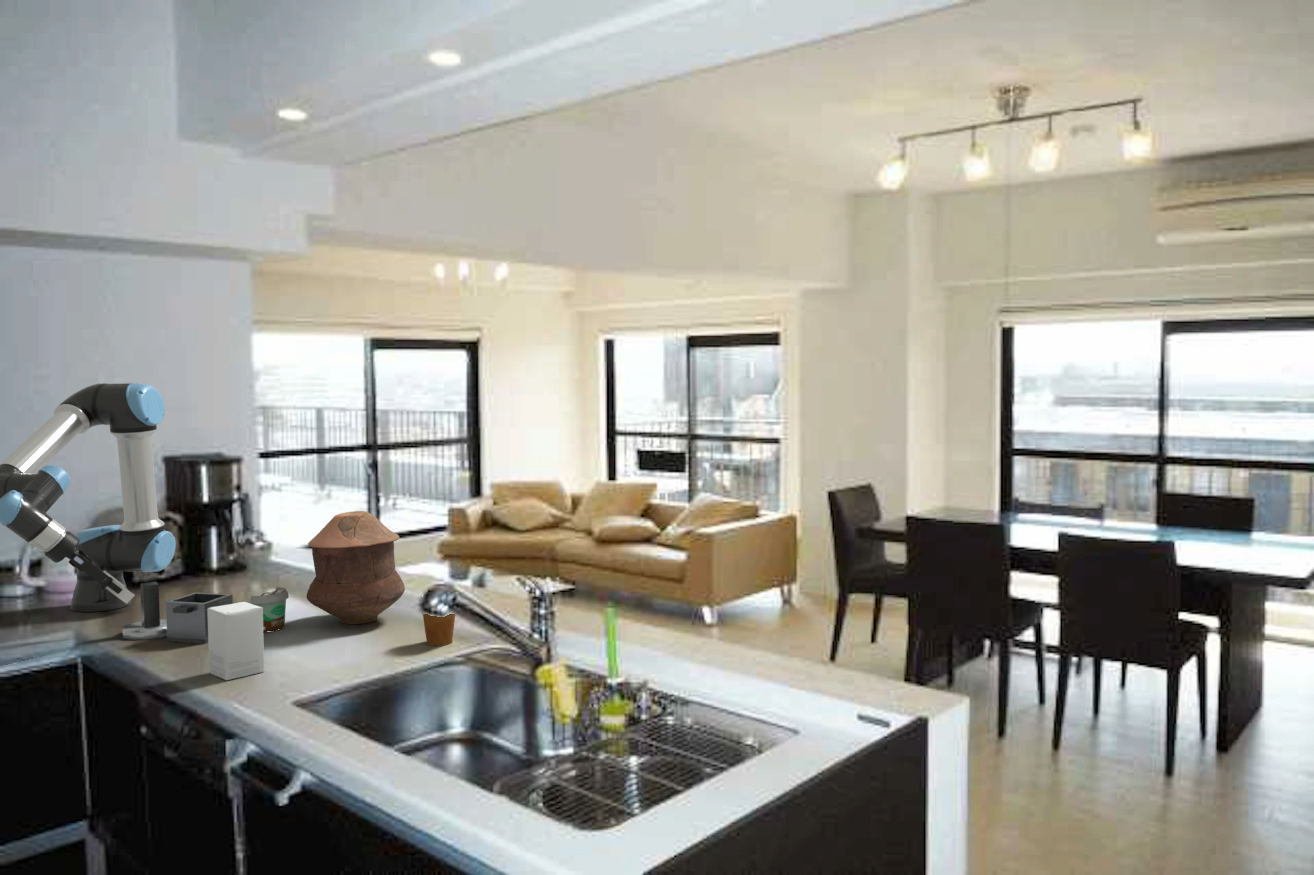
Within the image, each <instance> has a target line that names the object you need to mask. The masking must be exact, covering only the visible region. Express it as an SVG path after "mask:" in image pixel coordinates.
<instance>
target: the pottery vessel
mask: <svg viewBox="0 0 1314 875" xmlns="http://www.w3.org/2000/svg"><path fill="white" fill-rule="evenodd" d="M398 540H400V535H398V534H397V533H395V532H393V530H390V528H388V527H387V526H386V525H385V524H384V523H383V522H382V521H380V520H379V518H377V517H376V516H374V514H373V513H370V512H368V511H367V510H366V511H363V510H355V511H347V512H340V513H338V514H335V515H334V516H333V517H332V518H331V519H330V521H329V522H327V523H326V525H325V526H324V527H323V528H322V529H321V530H319V532H318V533H317V534H316V535H315V536H314V537H313V538H312V539H311V540H310V541H308V543H307V545H308V546H309V547H311V548H312V551H311V555H312V560H313V566H314V573H315V577H314V578H313V580H312V582H311V583H310V584H309V587H308V590H307V592H306V599H307V601H308V602H309V604H311V605H313V606H314V607H316V608H319V609H320V610H322V611H323V612H325V613H327V614H329V615H331V616H332V617H334V618H337V619H338V621H339V623H341V624H346V625H360V624H367V623H372V622H374V621H376V620H378V616H379V615H380V614H382V613H383V612H385V611H386V610H388V609H389V608H390V607H391V606H393V605H394V604H395V603H396V602H397V601H398V600H399V599H400V598H401V597H402V596H403V594H404V593H405V591H406V587H405V583H404V582H403V580H402V577H401V576H400V574H399V573H398V572H397V570H396V561H395V542H396V541H398Z"/></svg>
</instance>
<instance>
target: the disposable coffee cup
mask: <svg viewBox="0 0 1314 875" xmlns="http://www.w3.org/2000/svg"><path fill="white" fill-rule="evenodd" d="M424 594H425V593H423V594H422V595H421V597H420V600H419V602H420V601H421V599H422V597H423V595H424ZM422 617H423V626H424V633H425V639H426V644H427V645H430V646H436V647H437V646H447V645H449V644H451V643H453V637H454V629H455V621H456V620H455V619H456V613H455V614H449V615H447V616H445V617H437V616H430V615H428V614H423V613H422Z"/></svg>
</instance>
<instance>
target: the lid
mask: <svg viewBox="0 0 1314 875" xmlns="http://www.w3.org/2000/svg"><path fill="white" fill-rule="evenodd" d="M140 602H141V603H140V605H141V606H140V611H141V613H140V614H141V621H136V622H131V623H128V624H127V625H125V626H123V627H122V630H121V632H122V638H123V639H126V638H127V639H126V640H134V641H141V640H153V639H154V638H155V639H161V638H166V637H167V621H166V618H163V619H162V618H160V617H161V616H160V615H161V614H160V613H161V611H160V584H159V583H158V582H157V581H151V582H149V581H148V582H141V583H140ZM165 636H166V637H165Z"/></svg>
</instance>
